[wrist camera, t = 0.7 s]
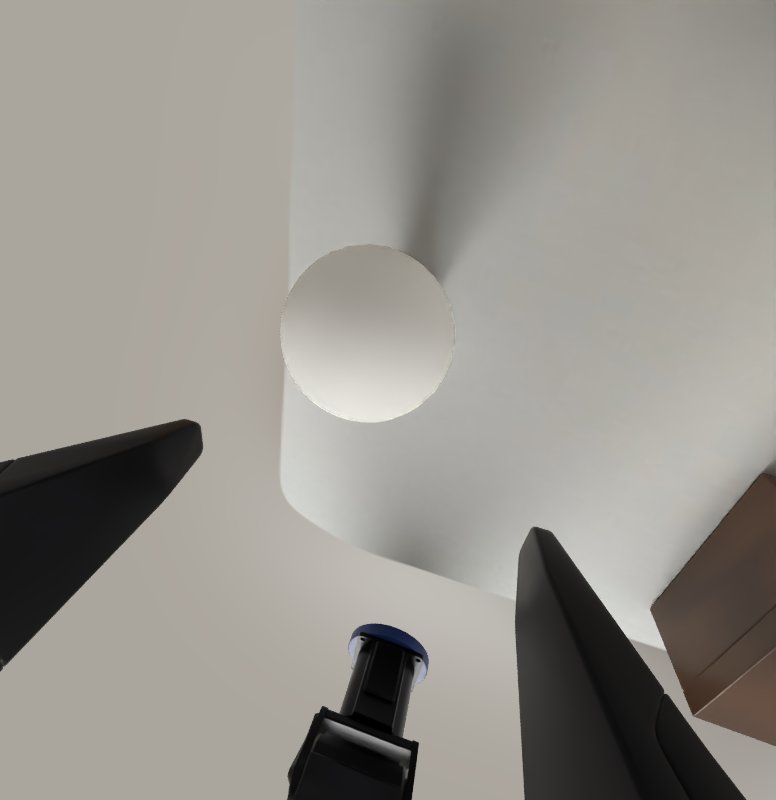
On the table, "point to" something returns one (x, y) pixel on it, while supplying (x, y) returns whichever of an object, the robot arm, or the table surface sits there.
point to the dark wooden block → (728, 619)
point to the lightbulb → (367, 333)
